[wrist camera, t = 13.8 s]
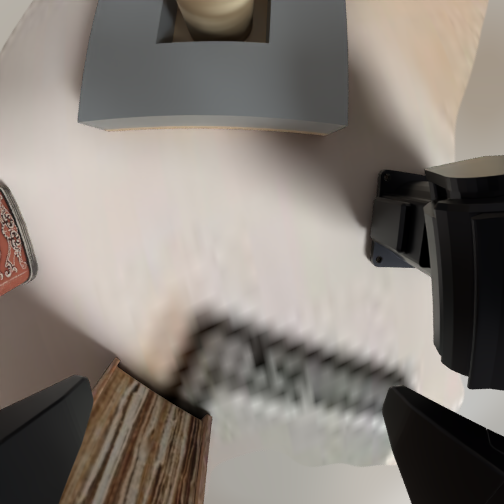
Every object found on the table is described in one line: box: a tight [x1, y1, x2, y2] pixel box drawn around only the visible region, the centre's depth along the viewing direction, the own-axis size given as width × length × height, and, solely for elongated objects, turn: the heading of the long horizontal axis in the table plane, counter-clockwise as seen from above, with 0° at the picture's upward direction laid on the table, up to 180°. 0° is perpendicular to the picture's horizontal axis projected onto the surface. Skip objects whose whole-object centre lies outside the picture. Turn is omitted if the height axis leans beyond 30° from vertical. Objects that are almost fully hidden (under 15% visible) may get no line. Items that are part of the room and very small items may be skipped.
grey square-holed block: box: [78, 0, 348, 136], centre depth 15 cm, size 14×14×4 cm
